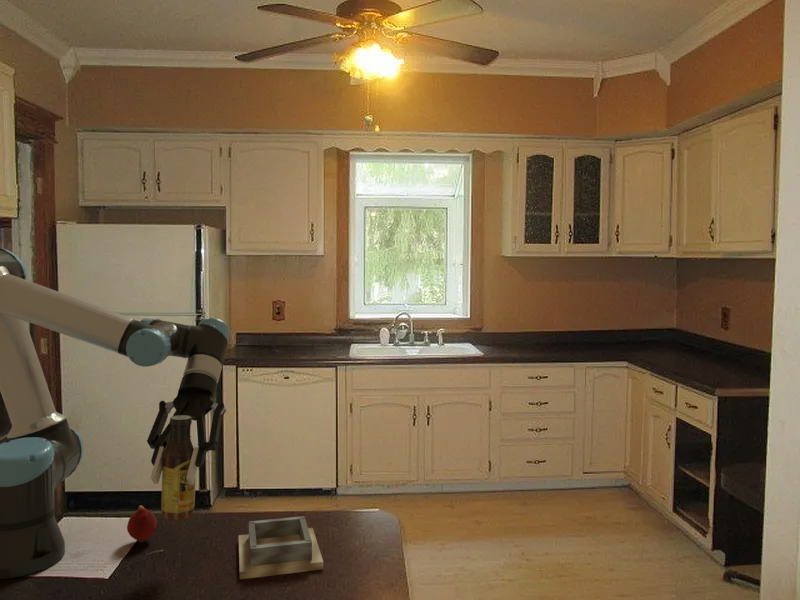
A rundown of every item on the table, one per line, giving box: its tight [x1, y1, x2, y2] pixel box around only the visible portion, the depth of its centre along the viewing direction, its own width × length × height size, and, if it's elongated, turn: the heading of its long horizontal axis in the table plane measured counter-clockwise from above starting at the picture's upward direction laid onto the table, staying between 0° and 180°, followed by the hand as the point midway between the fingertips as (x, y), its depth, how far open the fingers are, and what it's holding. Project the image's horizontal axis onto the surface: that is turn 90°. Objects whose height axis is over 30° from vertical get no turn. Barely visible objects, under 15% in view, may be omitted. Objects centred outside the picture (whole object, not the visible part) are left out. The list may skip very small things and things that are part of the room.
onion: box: [126, 505, 158, 543], centre depth 130 cm, size 6×6×8 cm
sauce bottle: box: [160, 415, 196, 522], centre depth 120 cm, size 7×6×20 cm
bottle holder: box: [238, 515, 324, 580], centre depth 125 cm, size 16×16×5 cm
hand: (172, 480), depth 116 cm, fingers closed on sauce bottle, 6 cm apart
